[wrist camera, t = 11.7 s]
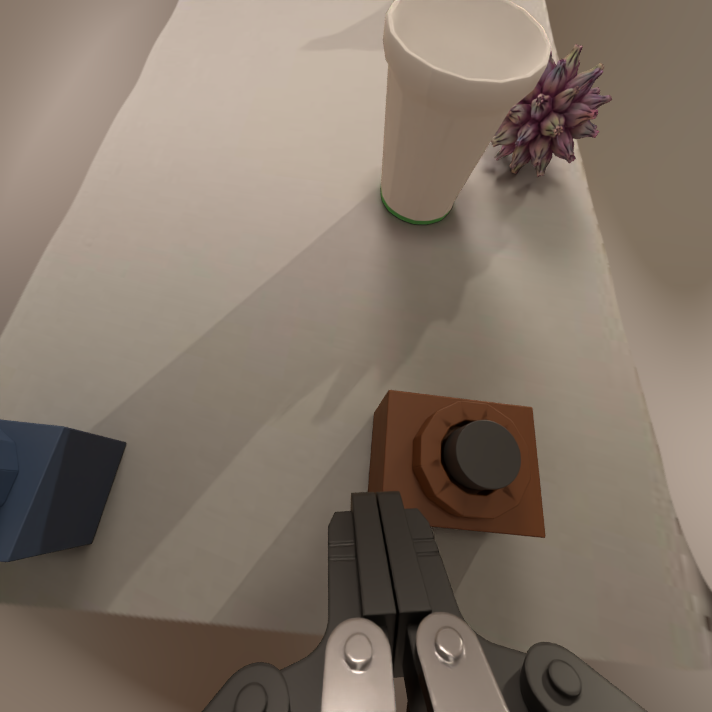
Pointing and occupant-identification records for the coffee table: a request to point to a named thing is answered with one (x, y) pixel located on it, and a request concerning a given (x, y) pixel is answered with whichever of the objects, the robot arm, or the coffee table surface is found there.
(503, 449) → the grey round disc
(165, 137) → the coffee table surface
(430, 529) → the robot arm
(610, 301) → the coffee table surface
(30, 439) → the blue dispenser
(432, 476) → the brown block with collar
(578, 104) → the flower
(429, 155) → the cup
